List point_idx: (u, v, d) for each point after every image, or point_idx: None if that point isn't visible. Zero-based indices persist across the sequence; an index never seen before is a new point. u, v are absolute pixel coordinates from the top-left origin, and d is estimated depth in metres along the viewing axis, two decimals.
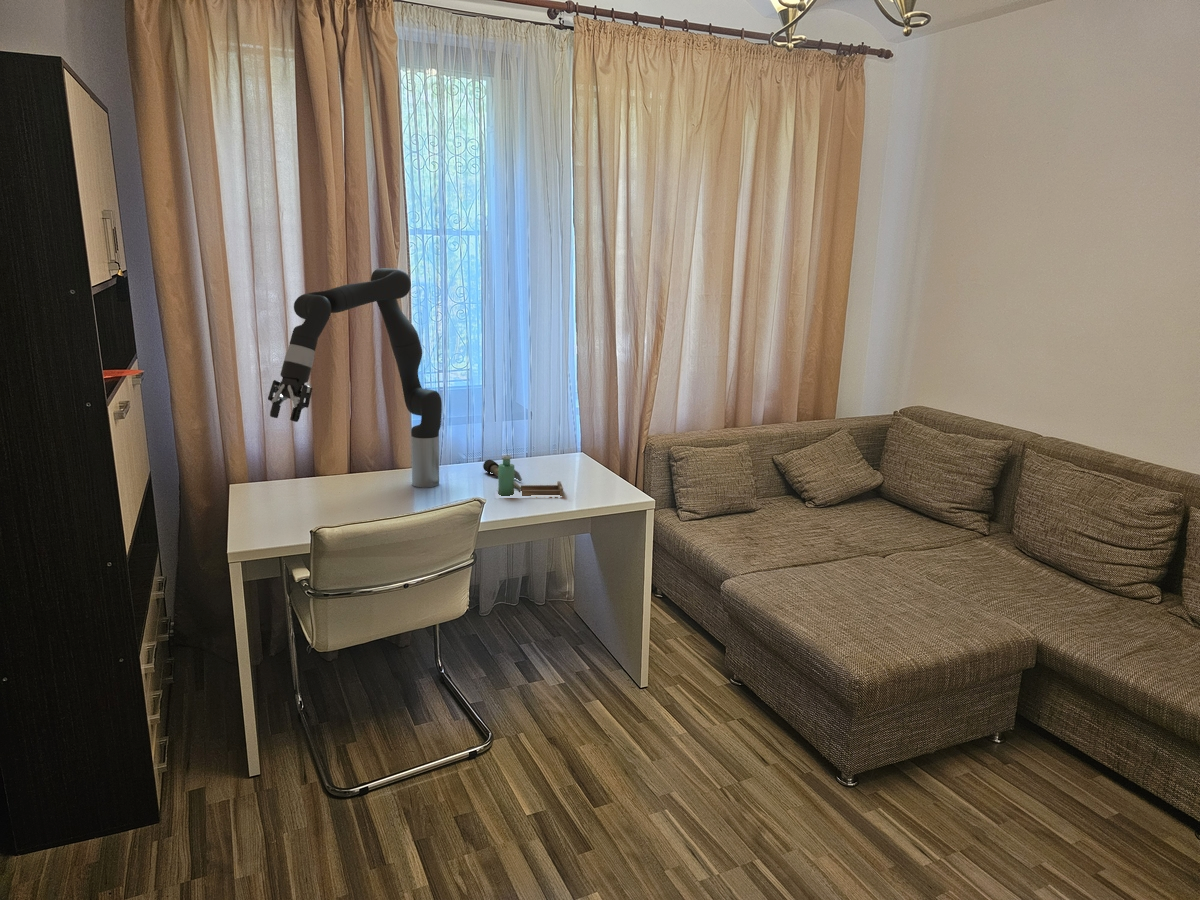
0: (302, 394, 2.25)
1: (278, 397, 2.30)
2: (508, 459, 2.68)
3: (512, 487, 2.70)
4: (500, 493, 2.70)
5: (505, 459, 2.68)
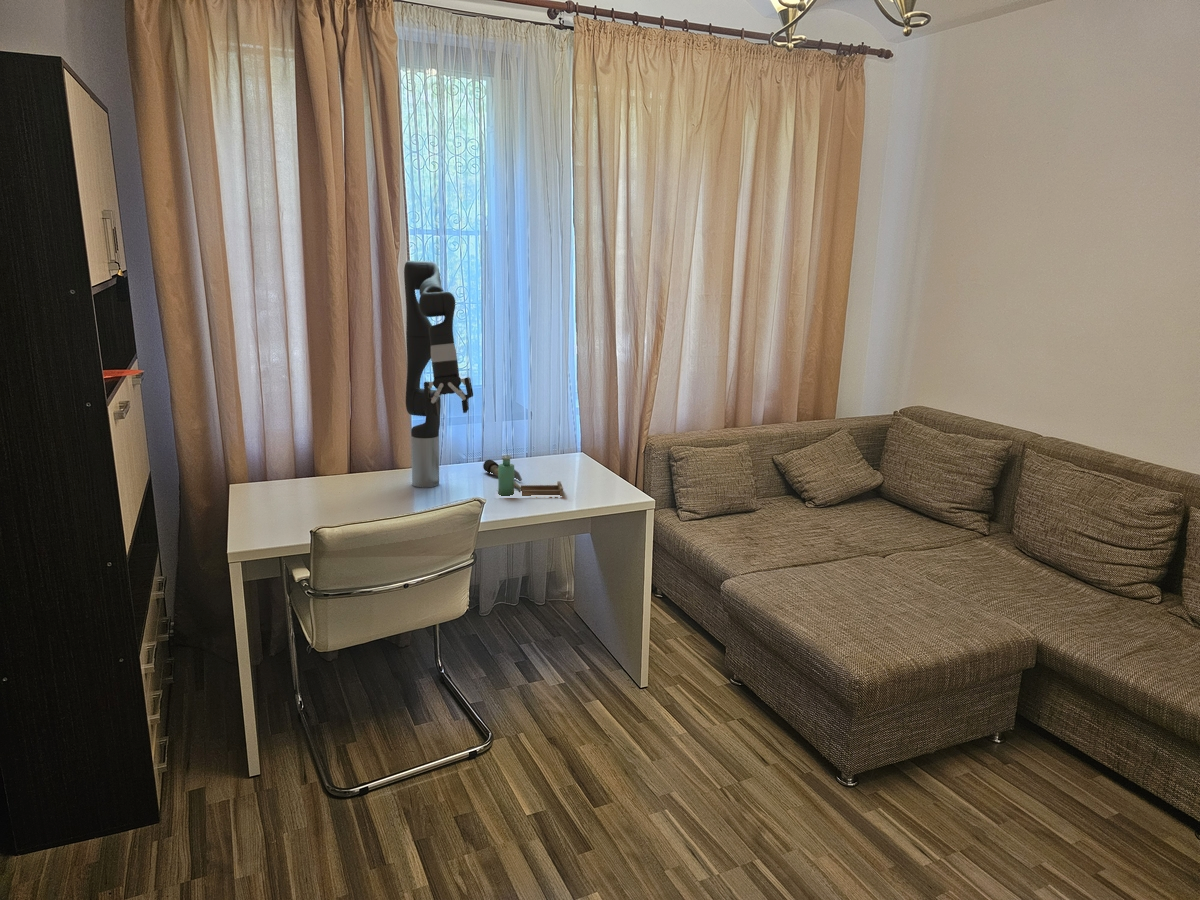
0: (467, 386, 2.42)
1: (438, 396, 2.44)
2: (508, 459, 2.68)
3: (512, 487, 2.70)
4: (500, 493, 2.70)
5: (505, 459, 2.68)
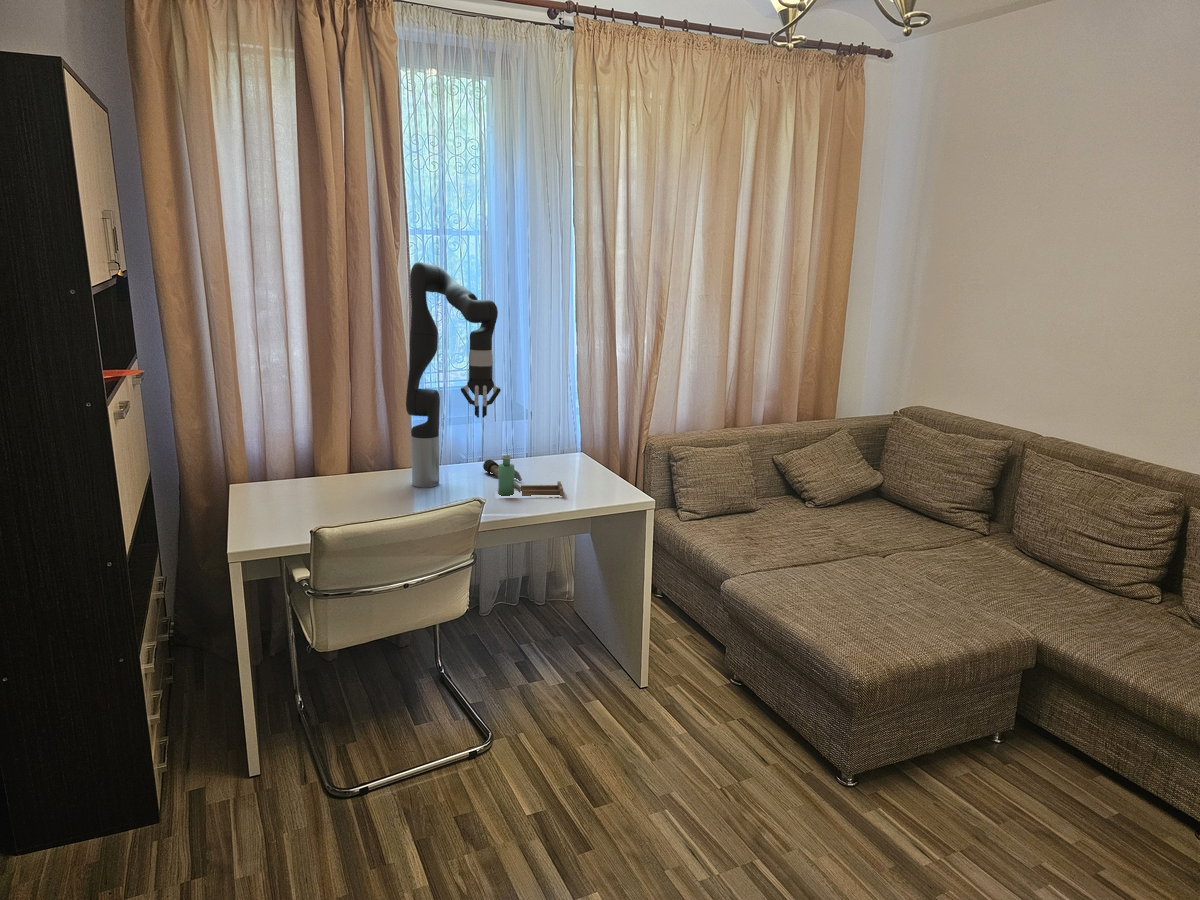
0: (495, 396, 2.63)
1: None
2: (508, 459, 2.68)
3: (512, 487, 2.70)
4: (500, 493, 2.70)
5: (505, 459, 2.68)
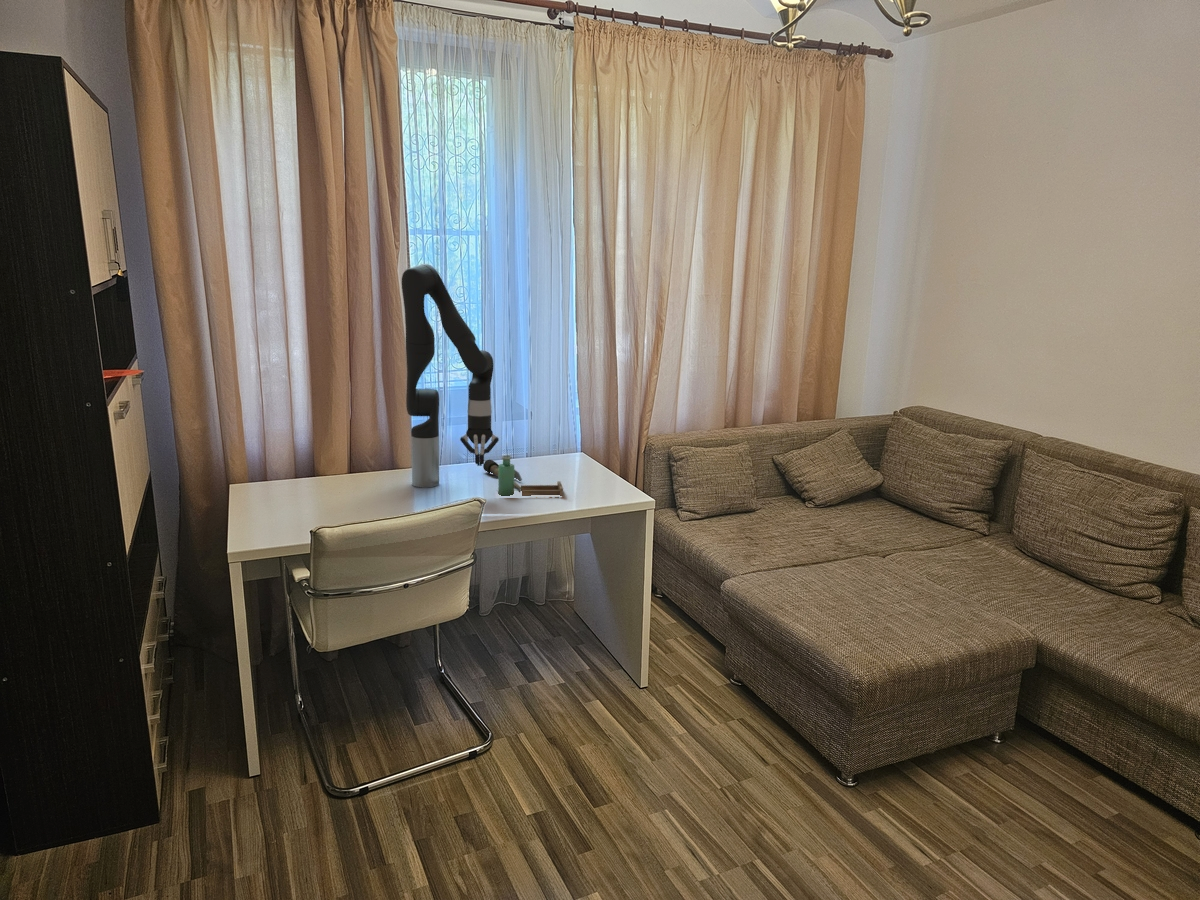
0: (492, 445, 2.66)
1: None
2: (508, 459, 2.68)
3: (512, 487, 2.70)
4: (500, 493, 2.70)
5: (505, 459, 2.68)
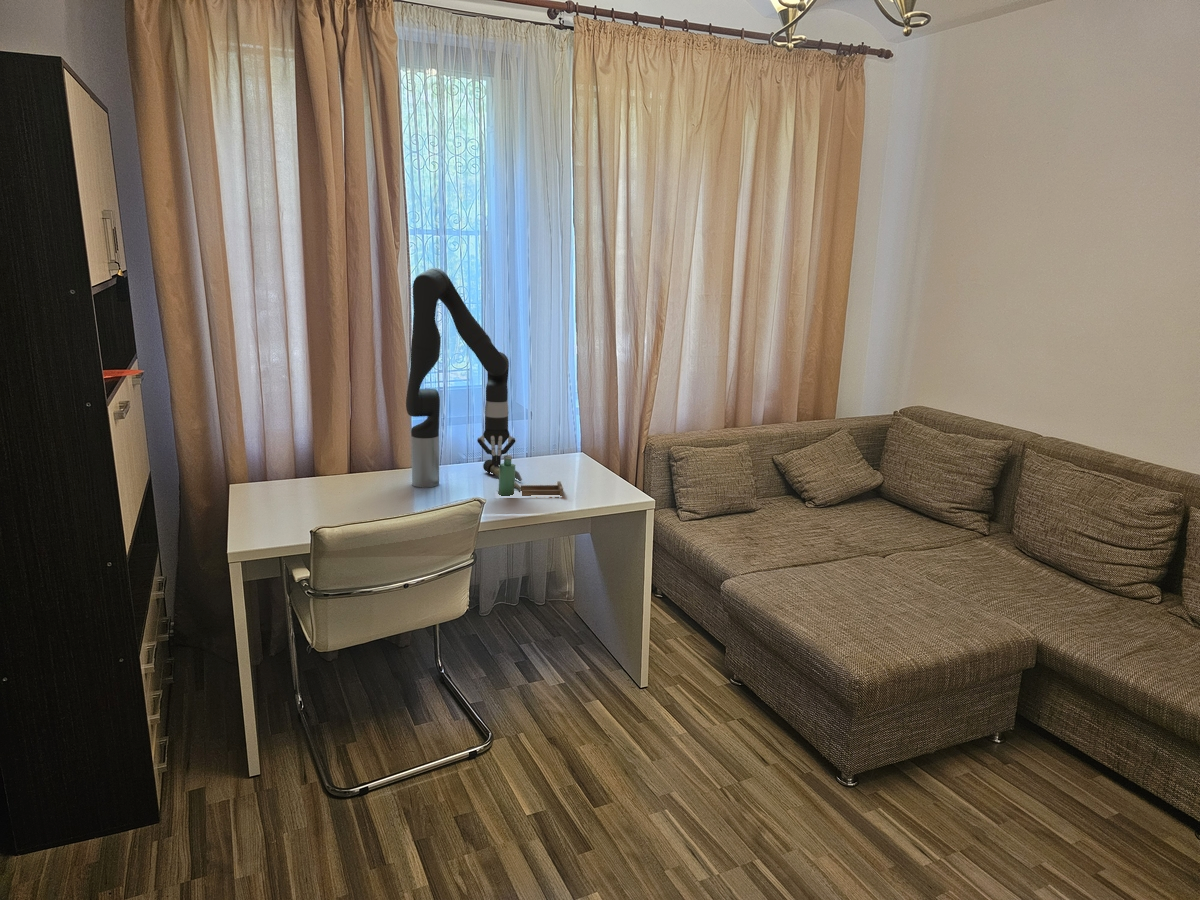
0: (509, 446, 2.67)
1: None
2: (509, 459, 2.68)
3: (512, 487, 2.70)
4: (500, 493, 2.70)
5: (506, 459, 2.68)
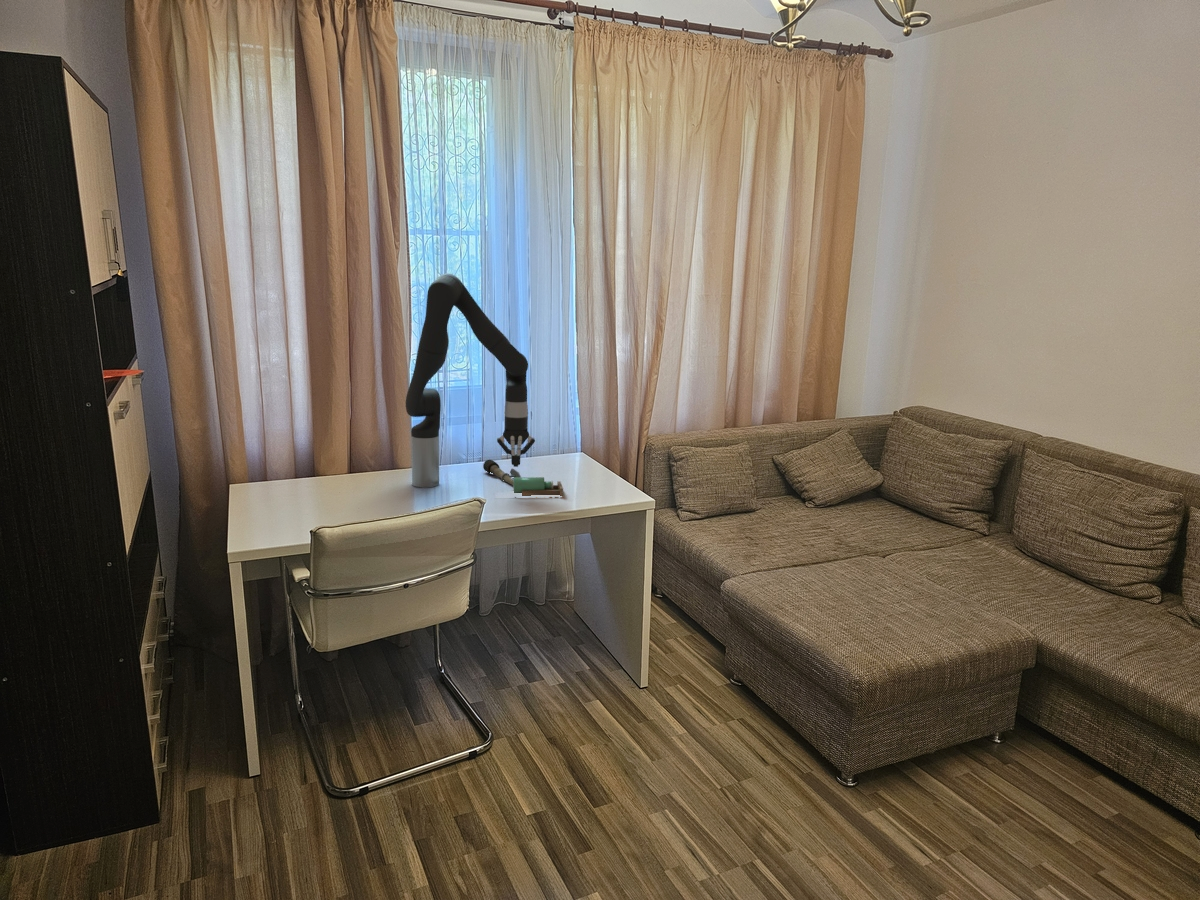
0: (529, 446, 2.68)
1: (514, 447, 2.67)
2: (551, 487, 2.73)
3: None
4: (516, 480, 2.70)
5: (551, 484, 2.73)
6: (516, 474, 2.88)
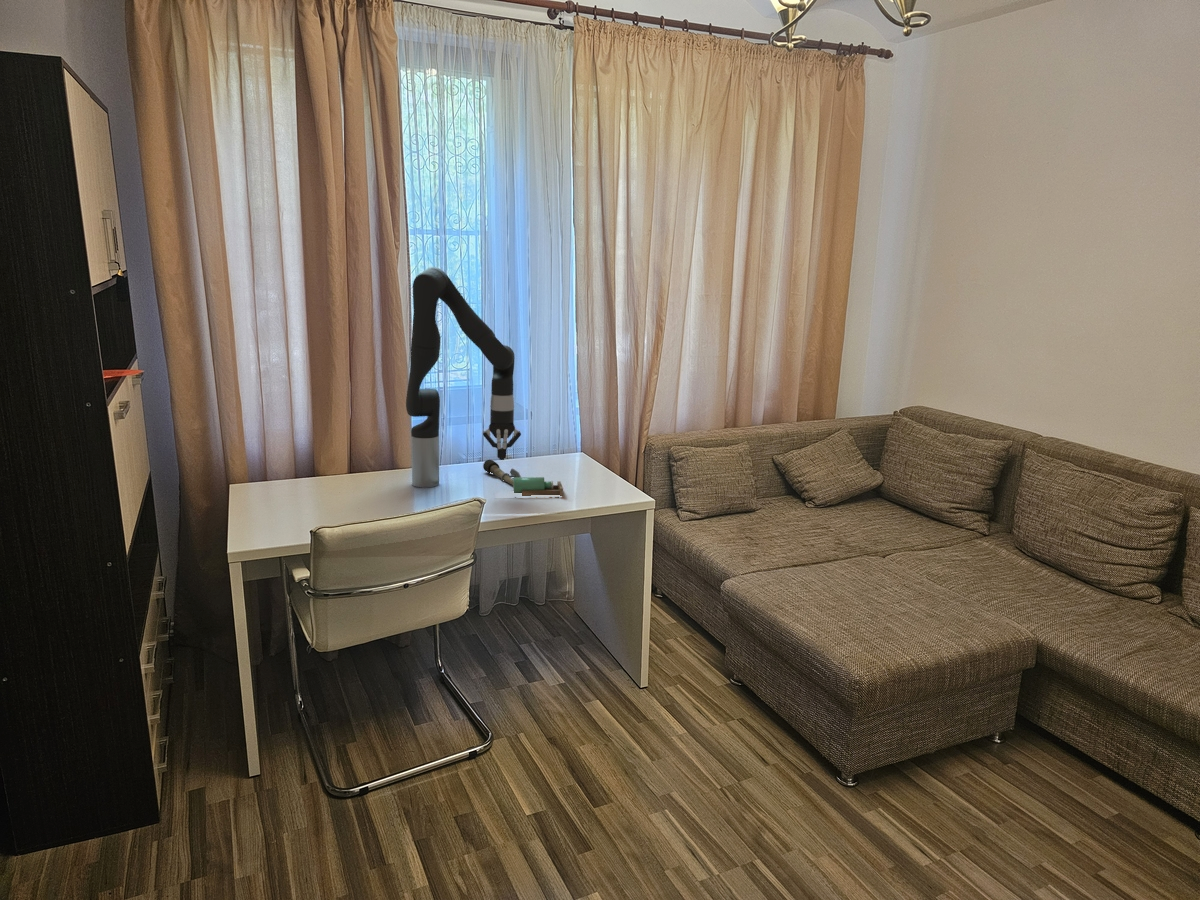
0: (515, 439, 2.68)
1: (500, 441, 2.67)
2: (551, 487, 2.73)
3: None
4: (516, 480, 2.70)
5: (551, 484, 2.73)
6: (516, 474, 2.88)
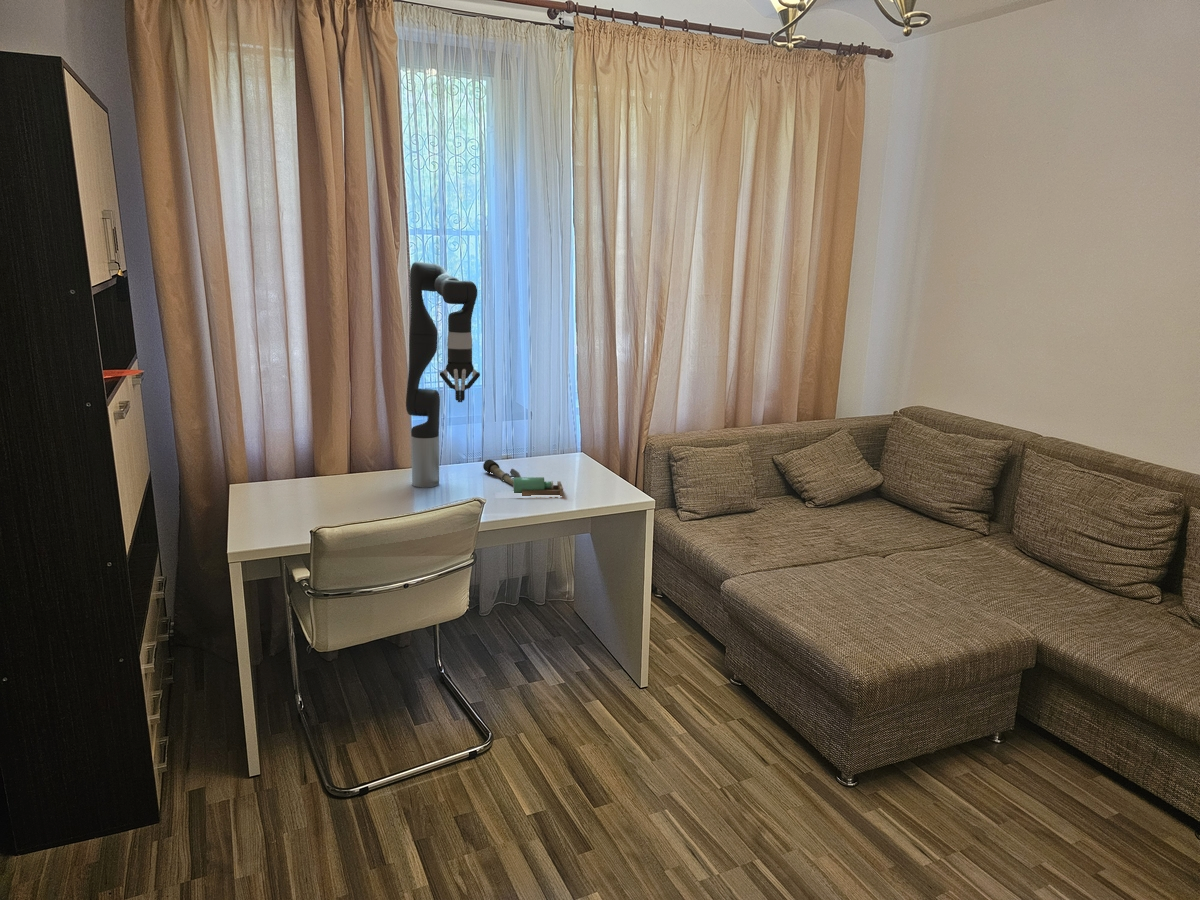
0: (473, 380, 2.55)
1: (458, 381, 2.54)
2: (551, 487, 2.73)
3: None
4: (516, 480, 2.70)
5: (551, 484, 2.73)
6: (516, 474, 2.88)
